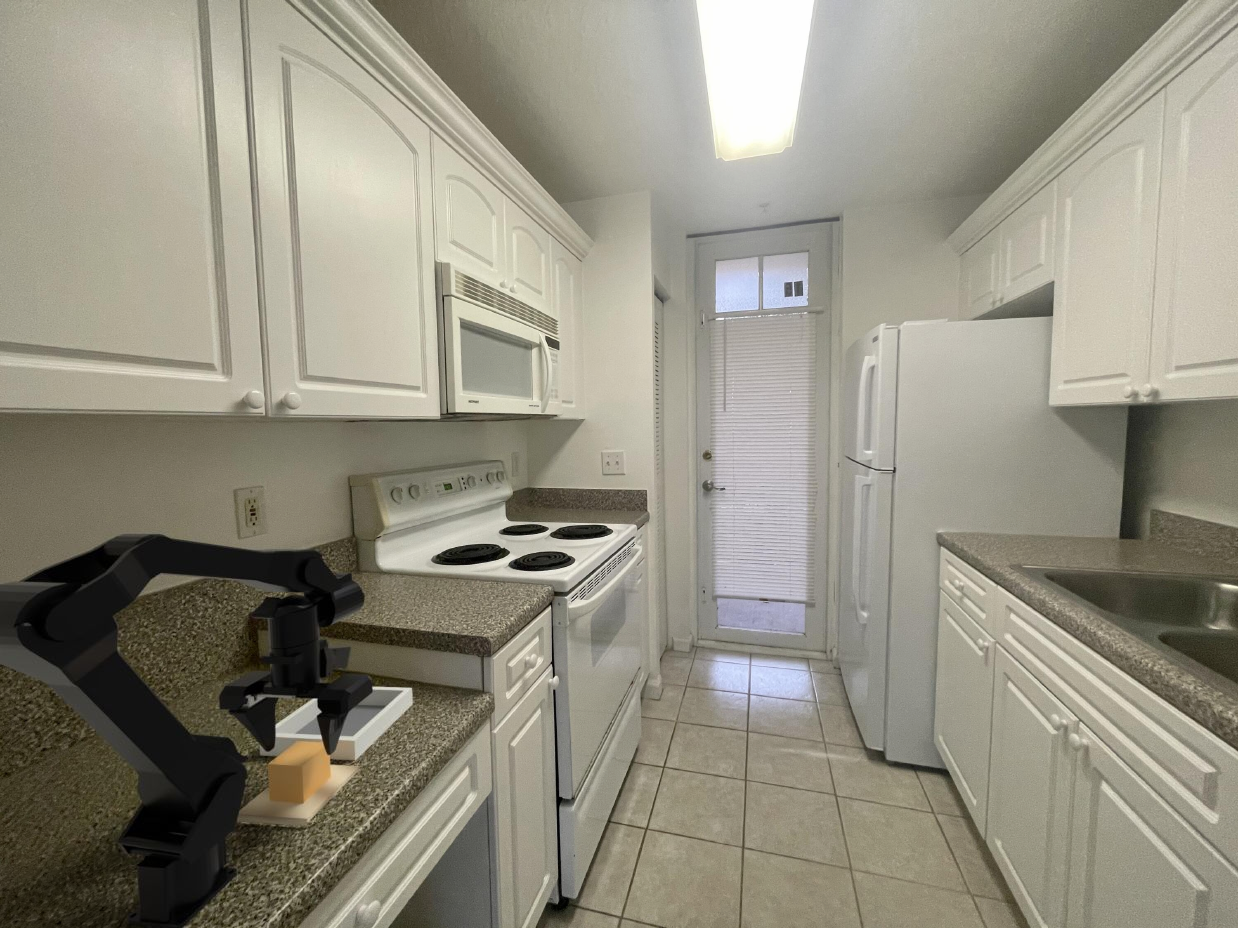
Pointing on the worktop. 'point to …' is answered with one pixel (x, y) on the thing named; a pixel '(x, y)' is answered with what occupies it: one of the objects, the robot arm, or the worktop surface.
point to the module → (298, 772)
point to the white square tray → (358, 727)
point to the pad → (292, 811)
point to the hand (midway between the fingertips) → (300, 751)
